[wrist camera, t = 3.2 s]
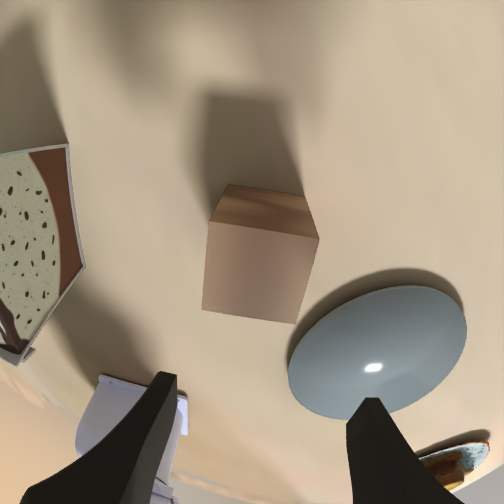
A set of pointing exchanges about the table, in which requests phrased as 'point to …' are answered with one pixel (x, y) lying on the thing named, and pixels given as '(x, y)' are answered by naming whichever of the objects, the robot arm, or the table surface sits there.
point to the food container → (35, 244)
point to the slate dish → (378, 351)
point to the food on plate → (456, 462)
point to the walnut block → (259, 254)
